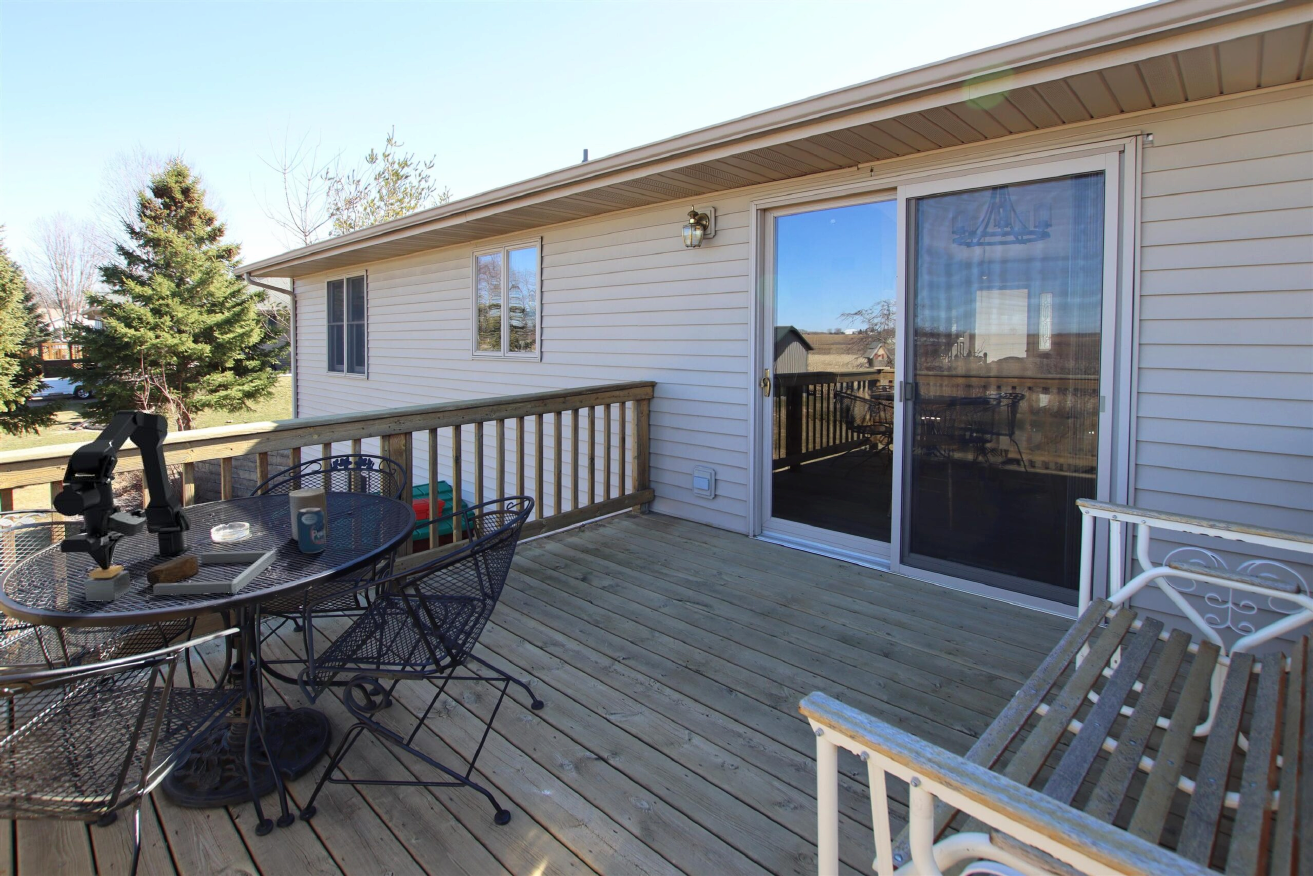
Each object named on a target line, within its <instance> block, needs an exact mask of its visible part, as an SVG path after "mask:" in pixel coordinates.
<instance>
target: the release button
mask: <svg viewBox="0 0 1313 876" xmlns="http://www.w3.org/2000/svg"><path fill="white" fill-rule="evenodd" d="M121 571H124V569H123V565H110V568H109V569H107V570H102V568H101V567H100V566H99V567H97V568H95V569H94V570H92V571H91V572H89V573H88V574H89V578H98V579H111V578H112V577H114V576H116V574H118V573H119V572H121Z"/></svg>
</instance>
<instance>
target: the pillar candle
mask: <svg viewBox="0 0 1313 876" xmlns="http://www.w3.org/2000/svg"><path fill="white" fill-rule="evenodd" d="M288 496H289V498H288V499H289V506H290V519H291V531H292V538H293V540H295V541H298V530H297V514H298V512H299V509H301V508H304V507H310V506H318V507H321V510H322V511H323V513H324V520H325V535H326V537H328V536H329V528H328V516H327V514H328V512H327V501H326V491H325V488H324V489H323V488H319V487H306V488H303V489H297V490H294V491H291V492H290V493H288Z"/></svg>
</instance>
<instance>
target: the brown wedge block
mask: <svg viewBox="0 0 1313 876" xmlns="http://www.w3.org/2000/svg"><path fill="white" fill-rule="evenodd" d="M198 573H200V571H199V561H198V556H195V555H187V554H185V555H182V556H180V557H175V558H174V559H173V558H172V559H171V560H168V561H166V562H165V561H164V562H162V563H159V564H158V565H154V566H153V567H151V568H150V570H149V571H147V572H146V580H147V582H148V584H149V585H150V586H151V587H153V586H154V585H155V584H159V583H173V582H174V583H177V582H178V580H179V581H181V580H183V579H187V578H190V577H192V576H195V575H198ZM194 574H195V575H194ZM189 576H190V577H189Z"/></svg>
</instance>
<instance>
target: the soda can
mask: <svg viewBox="0 0 1313 876" xmlns="http://www.w3.org/2000/svg"><path fill="white" fill-rule="evenodd" d="M297 530H298V540H297V541H298V543H297V544H298V549H299V550H300V551H301V552H302V553H303V554H315V553H320V552H322V551H324V550H325V548H326V545H327V536H326V535H325V520H324V513H323V511H322V510H321V507H318V506H310V507H304V508H301V509H299V512H298V514H297Z"/></svg>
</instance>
